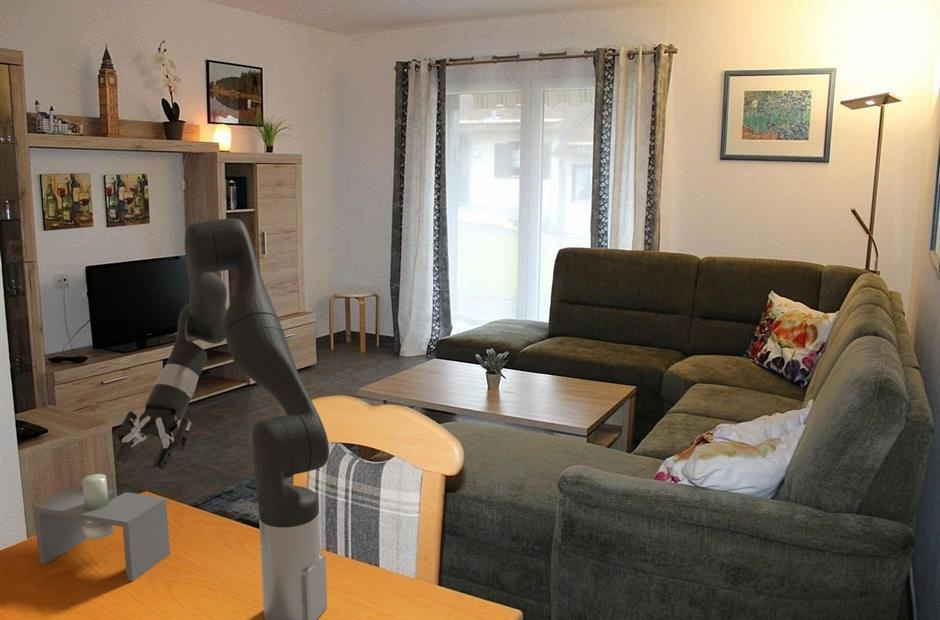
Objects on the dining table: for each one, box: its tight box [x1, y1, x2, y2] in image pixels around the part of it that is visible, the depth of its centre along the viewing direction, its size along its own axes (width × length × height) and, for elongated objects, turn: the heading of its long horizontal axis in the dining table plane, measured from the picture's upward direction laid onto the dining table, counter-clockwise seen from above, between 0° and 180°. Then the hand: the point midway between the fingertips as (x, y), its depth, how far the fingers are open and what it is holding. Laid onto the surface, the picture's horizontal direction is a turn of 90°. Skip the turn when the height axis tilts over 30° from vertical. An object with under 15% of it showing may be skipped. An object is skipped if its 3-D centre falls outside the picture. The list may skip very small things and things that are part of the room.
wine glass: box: [82, 473, 115, 540], centre depth 142 cm, size 5×5×10 cm
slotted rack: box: [33, 483, 171, 582], centre depth 144 cm, size 20×10×11 cm, turn 73°
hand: (138, 466), depth 152 cm, fingers open, 8 cm apart
